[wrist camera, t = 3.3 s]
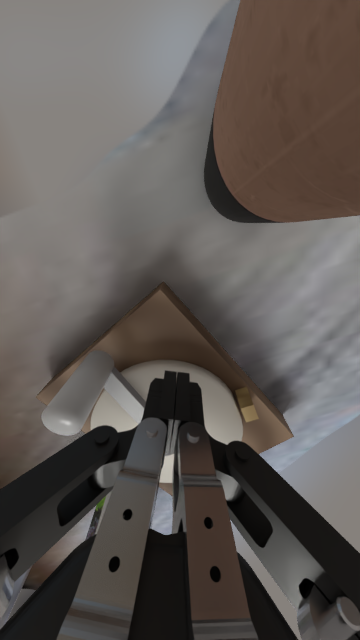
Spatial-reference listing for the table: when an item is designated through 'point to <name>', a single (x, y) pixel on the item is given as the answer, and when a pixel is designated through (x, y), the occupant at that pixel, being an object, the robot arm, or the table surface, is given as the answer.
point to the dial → (136, 400)
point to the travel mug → (288, 114)
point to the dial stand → (181, 345)
